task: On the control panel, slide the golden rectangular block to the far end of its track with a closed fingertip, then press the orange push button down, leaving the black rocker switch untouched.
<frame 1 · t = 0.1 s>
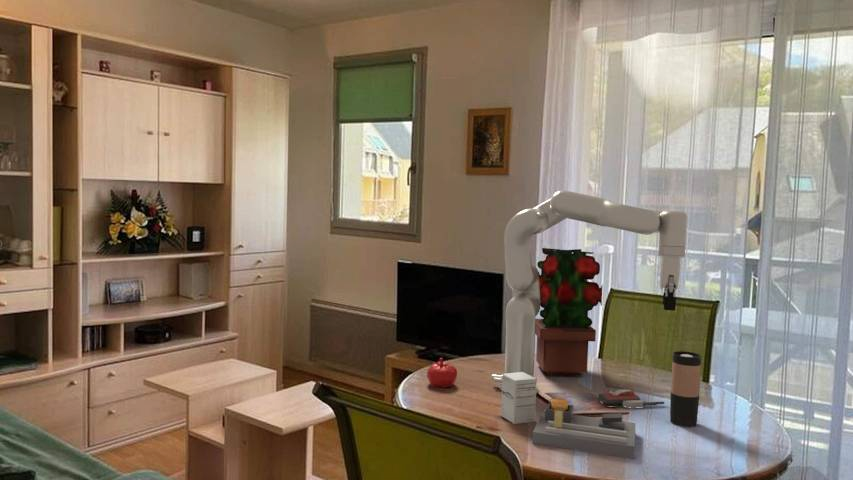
hand: (668, 307, 196), 31 cm above the table, fingers open, 9 cm apart
pomegranate: (441, 385, 216), on the table
potted plant: (560, 371, 237), on the table
orange button: (559, 405, 177), point 7 cm above the table, slide at 0.0 cm
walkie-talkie: (629, 405, 201), on the table
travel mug: (683, 423, 185), on the table
golden rectangular block: (559, 418, 168), point 6 cm above the table, slide at 0.0 cm
black rocker: (612, 417, 172), point 5 cm above the table, hinge at -10.0°
panel: (585, 438, 170), on the table
supplement box: (517, 419, 184), on the table
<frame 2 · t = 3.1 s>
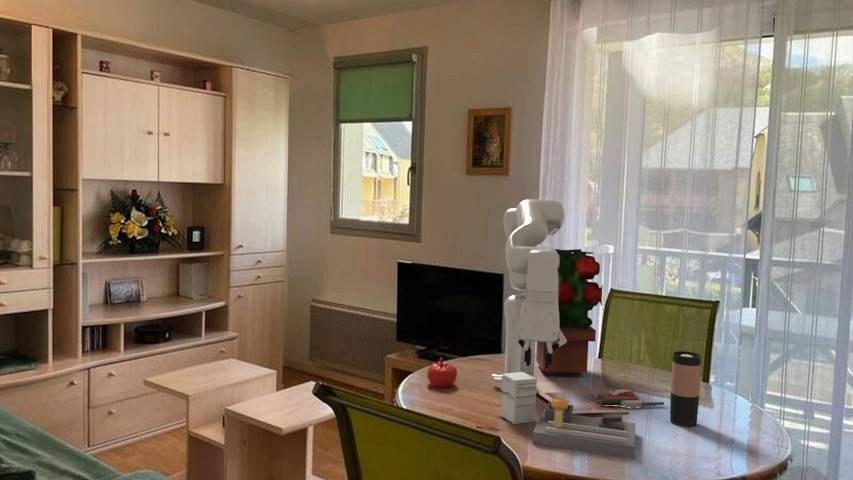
hand: (538, 365, 169), 19 cm above the table, fingers open, 4 cm apart
nothing on the table moved.
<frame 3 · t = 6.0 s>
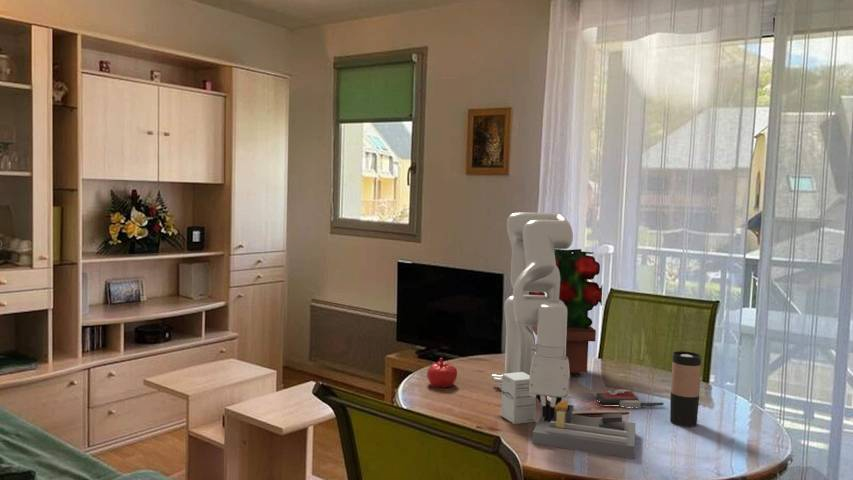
hand: (548, 419, 169), 5 cm above the table, fingers closed
golden rectangular block: (561, 418, 168), point 6 cm above the table, slide at 0.6 cm, touching gripper
everything else where it was.
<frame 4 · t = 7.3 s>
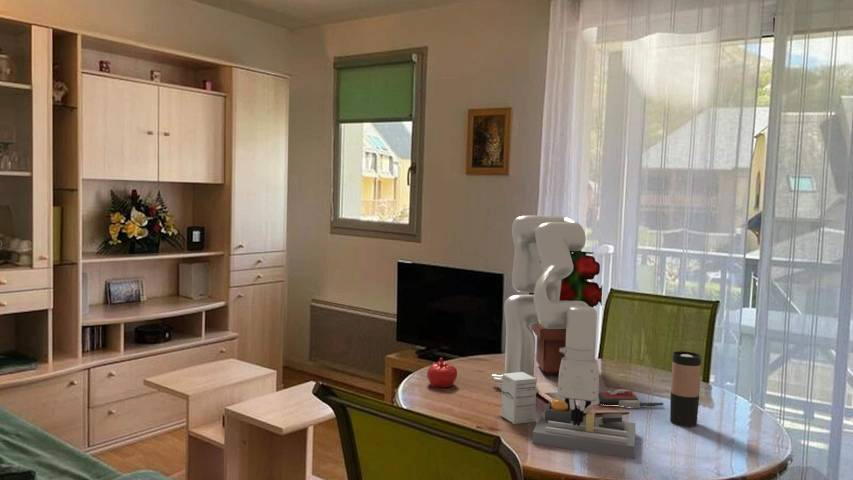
hand: (576, 423, 166), 5 cm above the table, fingers closed
golden rectangular block: (590, 422, 165), point 6 cm above the table, slide at 8.0 cm, touching gripper
everything else where it was.
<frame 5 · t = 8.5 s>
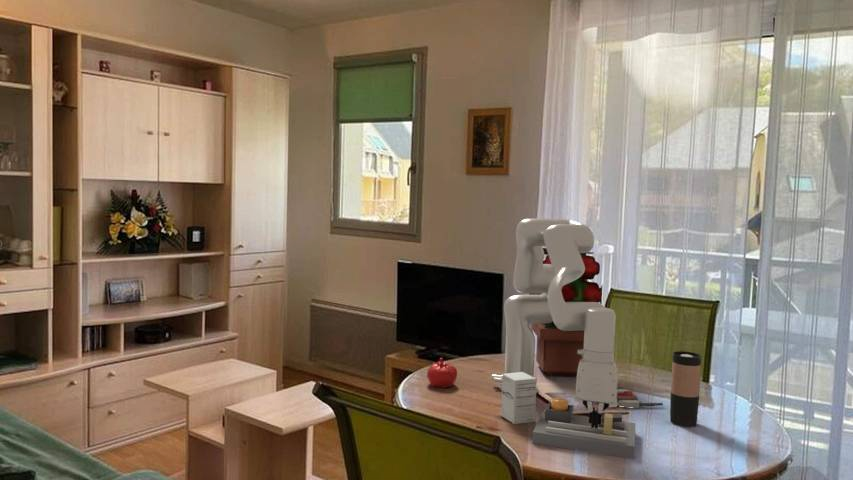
hand: (594, 426, 165), 5 cm above the table, fingers closed
golden rectangular block: (608, 425, 164), point 6 cm above the table, slide at 12.4 cm, touching gripper
everything else where it was.
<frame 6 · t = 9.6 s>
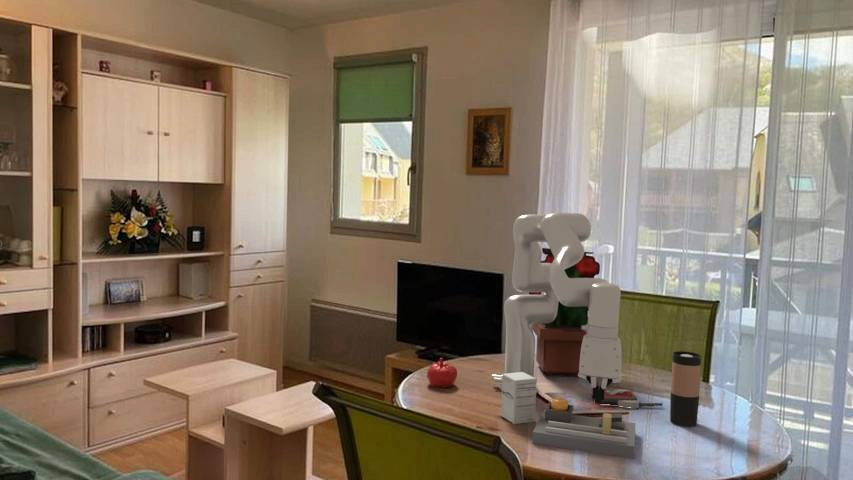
hand: (597, 401, 165), 11 cm above the table, fingers closed
golden rectangular block: (606, 425, 164), point 6 cm above the table, slide at 12.1 cm
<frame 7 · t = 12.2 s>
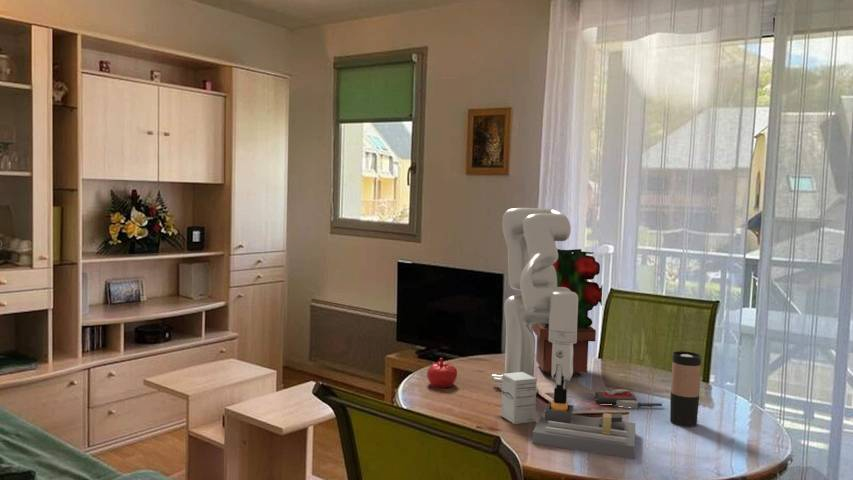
hand: (560, 402, 176), 8 cm above the table, fingers closed
orange button: (559, 407, 177), point 6 cm above the table, slide at 0.5 cm, touching gripper
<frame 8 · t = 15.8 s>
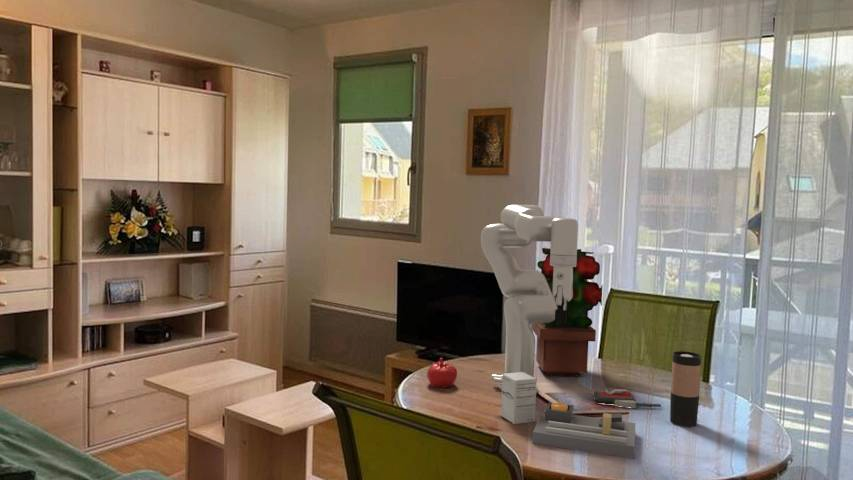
hand: (560, 323, 187), 27 cm above the table, fingers closed
orange button: (559, 410, 177), point 5 cm above the table, slide at 1.4 cm
at the end: golden rectangular block slide at 12.1 cm; orange button slide at 1.4 cm; black rocker at -10° (first picture: -10°) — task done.
